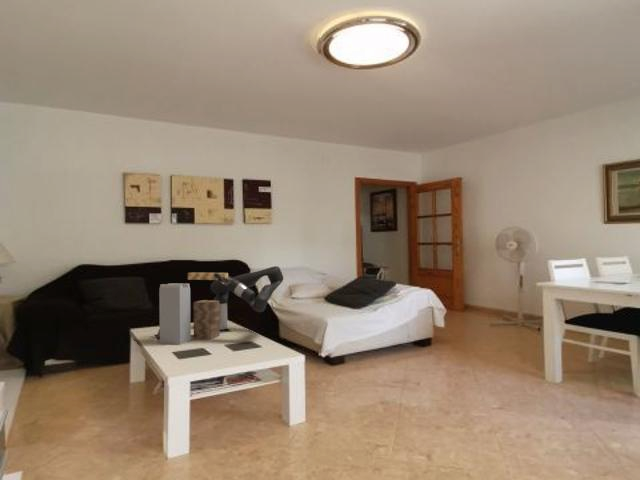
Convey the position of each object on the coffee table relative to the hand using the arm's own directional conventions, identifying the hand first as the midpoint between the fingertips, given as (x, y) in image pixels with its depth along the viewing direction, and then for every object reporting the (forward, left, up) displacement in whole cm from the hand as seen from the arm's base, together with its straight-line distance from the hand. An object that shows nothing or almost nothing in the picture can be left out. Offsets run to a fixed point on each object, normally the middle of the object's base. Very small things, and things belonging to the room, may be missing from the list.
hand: (217, 274), depth 249 cm
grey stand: (-9, -23, -39) cm, 46 cm away
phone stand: (-26, -24, -39) cm, 53 cm away
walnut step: (-9, -3, -39) cm, 40 cm away
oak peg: (-6, -4, -3) cm, 7 cm away
